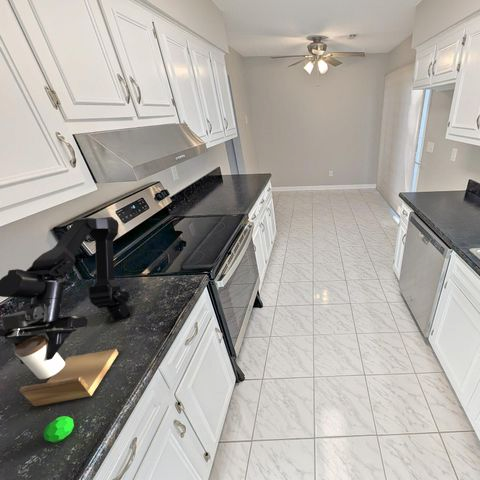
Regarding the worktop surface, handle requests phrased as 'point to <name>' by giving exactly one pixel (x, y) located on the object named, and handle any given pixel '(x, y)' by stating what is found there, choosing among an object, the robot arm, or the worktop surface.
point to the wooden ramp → (72, 379)
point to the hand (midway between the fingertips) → (36, 361)
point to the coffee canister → (39, 357)
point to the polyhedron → (58, 429)
